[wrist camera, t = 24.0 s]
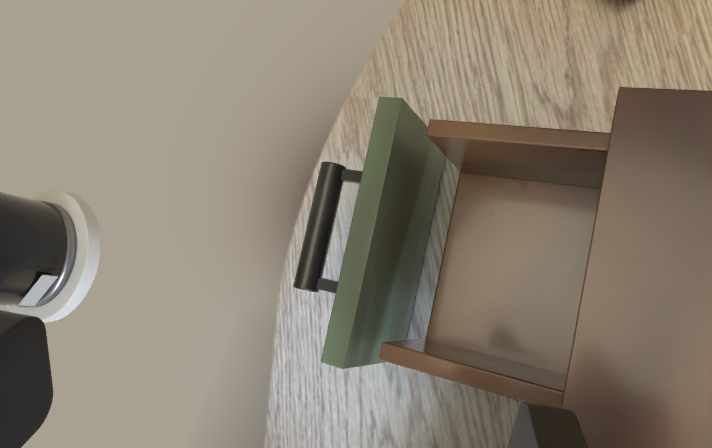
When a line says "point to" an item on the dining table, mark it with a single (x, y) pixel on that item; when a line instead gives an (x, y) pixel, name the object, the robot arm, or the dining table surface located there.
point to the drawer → (461, 251)
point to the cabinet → (649, 280)
